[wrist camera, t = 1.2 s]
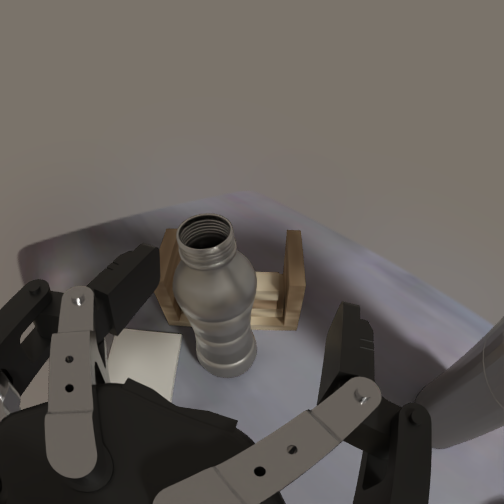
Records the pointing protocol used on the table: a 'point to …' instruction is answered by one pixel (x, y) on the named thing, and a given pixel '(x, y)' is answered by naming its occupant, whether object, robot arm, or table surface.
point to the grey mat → (145, 359)
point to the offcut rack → (267, 293)
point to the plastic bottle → (216, 294)
